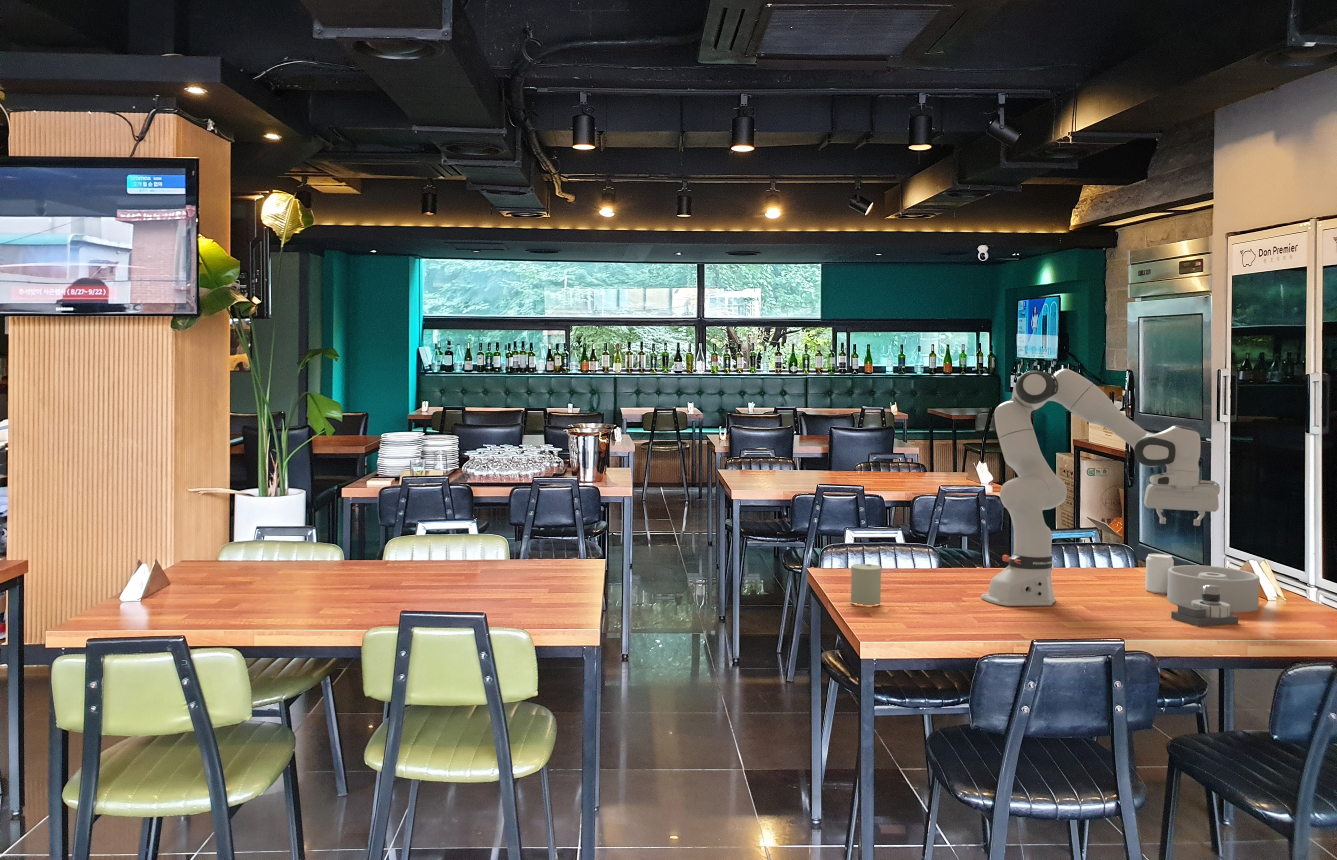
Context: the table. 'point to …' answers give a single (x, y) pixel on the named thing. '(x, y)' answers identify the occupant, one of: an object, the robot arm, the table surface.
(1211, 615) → the stepped dark base plate
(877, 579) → the can
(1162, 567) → the beverage can
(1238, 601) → the container
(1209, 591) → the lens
